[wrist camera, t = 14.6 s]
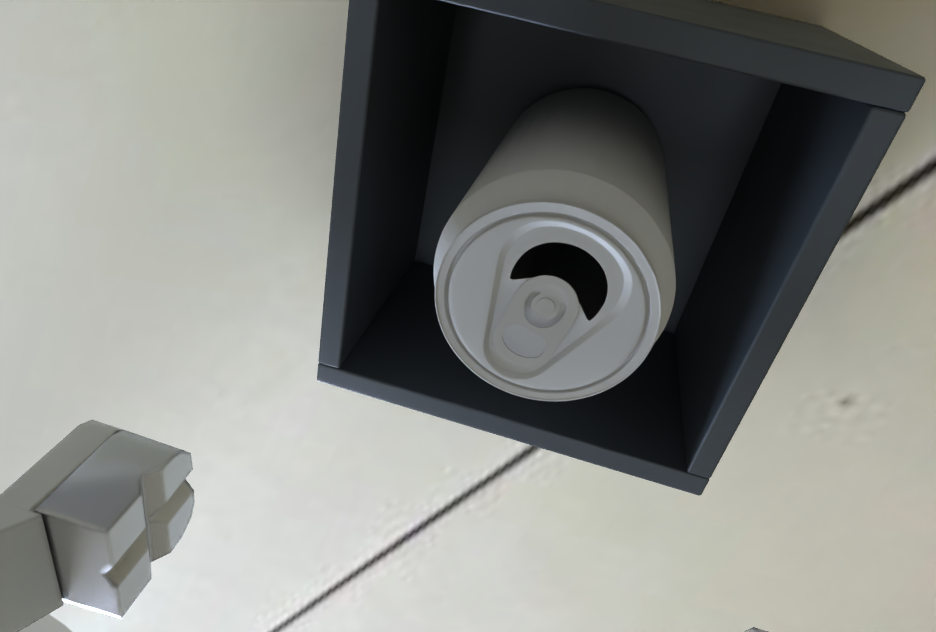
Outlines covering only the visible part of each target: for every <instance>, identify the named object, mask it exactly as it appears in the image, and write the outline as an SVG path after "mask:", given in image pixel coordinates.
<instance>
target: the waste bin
mask: <svg viewBox="0 0 936 632" xmlns="http://www.w3.org/2000/svg"><path fill="white" fill-rule="evenodd" d="M925 80H926V78H924V77H923V76H921V75H919V74H917V73H915V72H913V71H911V70H909V69H907V68H905V67H903V66H901V65H899V64H897V63H895V62H893V61H891V60H889V59H887V58H885V57H883V56H881V55H879V54H877V53H875V52H873V51H871V50H869V49H867V48H865V47H863V46H861V45H859V44H857V43H855V42H853V41H851V40H849V39H847V38H845V37H843V36H841V35H839V34H836V33H834V32H832V31H830V30H828V29H826V28H824V27H822V26H818V25H814V24H809V23H805V22H801V21H796V20H792V19H788V18H783V17H779V16H775V15H770V14H766V13H762V12H757V11H753V10H749V9H745V8H740V7H736V6H732V5H727V4H723V3H719V2H714V1H710V0H349V10H348V22H347V33H346V45H345V57H344V69H343V80H342V92H341V104H340V116H339V128H338V139H337V151H336V163H335V175H334V186H333V198H332V210H331V222H330V233H329V245H328V257H327V269H326V281H325V292H324V304H323V316H322V328H321V339H320V351H319V364H318V374H317V380H318V381H320V382H323V383H327V384H330V385H333V386H337V387H340V388H343V389H347V390H350V391H353V392H357V393H360V394H363V395H367V396H370V397H373V398H377V399H380V400H383V401H387V402H390V403H393V404H397V405H400V406H403V407H407V408H410V409H413V410H417V411H420V412H423V413H427V414H430V415H433V416H436V417H440V418H443V419H446V420H450V421H453V422H456V423H460V424H463V425H466V426H470V427H473V428H476V429H480V430H483V431H486V432H490V433H493V434H496V435H500V436H503V437H506V438H510V439H513V440H516V441H520V442H523V443H526V444H530V445H533V446H536V447H540V448H543V449H546V450H550V451H553V452H556V453H559V454H563V455H566V456H569V457H573V458H576V459H579V460H583V461H586V462H589V463H593V464H596V465H599V466H603V467H606V468H609V469H613V470H616V471H619V472H623V473H626V474H629V475H633V476H636V477H639V478H643V479H646V480H649V481H653V482H656V483H659V484H663V485H666V486H669V487H672V488H676V489H679V490H682V491H686V492H689V493H692V494H696V495H701V494H702V492H703V491H704V489H705V487H706V485H707V483H708V481H709V478H710V477H711V476H712V474H713V472H714V470H715V468H716V466H717V464H718V463H719V461H720V459H721V457H722V455H723V453H724V451H725V450H726V448H727V446H728V444H729V442H730V440H731V439H732V437H733V435H734V433H735V431H736V429H737V427H738V426H739V424H740V422H741V420H742V418H743V416H744V415H745V413H746V411H747V409H748V407H749V405H750V403H751V402H752V400H753V398H754V396H755V394H756V392H757V390H758V389H759V387H760V385H761V383H762V381H763V379H764V378H765V376H766V374H767V372H768V370H769V368H770V366H771V365H772V363H773V361H774V359H775V357H776V355H777V354H778V352H779V350H780V348H781V346H782V344H783V342H784V341H785V339H786V337H787V335H788V333H789V331H790V329H791V328H792V326H793V324H794V322H795V320H796V318H797V317H798V315H799V313H800V311H801V309H802V307H803V305H804V304H805V302H806V300H807V298H808V296H809V294H810V292H811V291H812V289H813V287H814V285H815V283H816V281H817V280H818V278H819V276H820V274H821V272H822V270H823V268H824V267H825V265H826V263H827V261H828V259H829V257H830V256H831V254H832V252H833V250H834V248H835V246H836V244H837V243H838V241H839V239H840V237H841V235H842V233H843V231H844V230H845V228H846V226H847V224H848V222H849V220H850V219H851V217H852V215H853V213H854V211H855V209H856V207H857V206H858V204H859V202H860V200H861V198H862V196H863V195H864V193H865V191H866V189H867V187H868V185H869V183H870V182H871V180H872V178H873V176H874V174H875V172H876V170H877V169H878V167H879V165H880V163H881V161H882V159H883V158H884V156H885V154H886V152H887V150H888V148H889V146H890V145H891V143H892V141H893V139H894V137H895V135H896V134H897V132H898V130H899V128H900V126H901V124H902V122H903V121H904V119H905V116H906V114H905V113H904V112H908V111H909V110H910V108H911V107H912V105H913V103H914V101H915V99H916V97H917V96H918V94H919V92H920V90H921V88H922V86H923V84H924V83H925ZM576 88H591V89H598V90H602V91H607V92H610V93H612V94H615V95H617V96H619V97H622V98H623V99H625V100H627V101H628V102H630V103H631V104H633V105H634V106H635V107H637V108H638V109H639V110H640V111H641V112H642V113H643V114H644V115H645V116H646V117H647V119H648V120H649V121H650V123H651V125H652V126H653V128H654V130H655V132H656V134H657V135H658V137H659V139H660V142H661V145H662V149H663V153H664V160H665V170H666V180H667V191H668V201H669V212H670V222H671V232H672V243H673V253H674V263H675V274H676V291H675V298H674V304H673V308H672V311H671V314H670V317H669V319H668V322H667V324H666V326H665V328H664V330H663V332H662V333H661V335H660V336H659V338H658V339H657V341H656V342H655V343H654V345H653V346H652V348H651V350H650V352H649V353H648V355H647V357H646V358H645V360H644V361H643V362H642V363H641V364H640V366H639V367H638V368H637V369H636V370H635V371H634V372H633V373H632V374H631V375H629V376H628V377H627V378H626V379H624V380H623V381H622V382H620V383H619V384H617V385H615V386H614V387H612V388H610V389H608V390H606V391H603V392H601V393H599V394H596V395H593V396H590V397H586V398H582V399H577V400H570V401H541V400H533V399H528V398H524V397H520V396H516V395H513V394H510V393H508V392H505V391H503V390H501V389H499V388H497V387H494V386H493V385H491V384H489V383H488V382H486V381H484V380H483V379H481V378H480V377H479V376H477V375H476V374H475V373H474V372H472V371H471V370H470V369H469V368H468V367H467V366H466V365H465V364H464V363H463V362H462V361H461V360H460V359H459V358H458V356H457V355H456V354H455V353H454V351H453V350H452V348H451V347H450V345H449V344H448V342H447V340H446V338H445V336H444V334H443V332H442V330H441V327H440V324H439V321H438V317H437V313H436V307H435V286H434V259H435V253H436V248H437V245H438V242H439V239H440V236H441V234H442V231H443V229H444V227H445V225H446V224H447V222H448V220H449V219H450V217H451V216H452V214H453V213H454V211H455V210H456V208H457V207H458V205H459V204H460V202H461V201H462V199H463V198H464V196H465V195H466V193H467V192H468V190H469V189H470V187H471V186H472V184H473V183H474V181H475V180H476V178H477V177H478V176H479V174H480V173H481V171H482V170H483V168H484V167H485V165H486V164H487V162H488V161H489V159H490V158H491V156H492V155H493V153H494V152H495V150H496V149H497V147H498V146H499V144H500V143H501V141H502V140H503V138H504V137H505V135H506V134H507V132H508V131H509V129H510V128H511V126H512V125H513V124H514V122H515V121H516V120H517V118H518V117H519V116H520V115H521V114H522V113H523V112H524V111H525V110H526V109H527V108H529V107H530V106H531V105H533V104H534V103H535V102H537V101H539V100H541V99H542V98H544V97H546V96H548V95H551V94H553V93H556V92H559V91H563V90H568V89H576Z"/></svg>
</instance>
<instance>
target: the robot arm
mask: <svg viewBox="0 0 936 632" xmlns="http://www.w3.org/2000/svg"><path fill="white" fill-rule="evenodd" d="M192 470H193V468H192V459H191V453H189V452H186V451H184V450H181V449H178V448H175V447H172V446H169V445H166V444H163V443H160V442H157V441H155V440H152V439H149V438H146V437H143V436H140V435H137V434H134V433H131V432H128V431H125V430H122V429H119V428H116V427H113V426H110V425H107V424H104V423H101V422H98V421H95V420H90V421H88V422H85V423H83V424H80V425H79V426H77V427H76V428H75V429H74V430H73V431H72V432H71V433H69V434H68V435H67V436H66V437H65V438H64V439H63V440H62V441H60V442H59V443H58V444H57V445H56V446H55V447H54V448H53V449H51V450H50V451H49V452H48V453H47V454H46V455H45V456H43V457H42V458H41V459H40V460H39V461H38V462H37V463H36V464H34V465H33V466H32V467H31V468H30V469H29V470H28V471H27V472H25V473H24V474H23V475H22V476H21V477H20V478H19V479H18V480H16V481H15V482H14V483H13V484H12V485H11V486H10V487H9V488H7V489H6V490H5V491H4V492H3V493H2V494H1V495H0V632H19V631H20V630H22V629H23V628H25V627H27V626H29V625H30V624H32V623H34V622H36V621H37V620H39V619H40V618H42V617H44V616H46V615H47V614H49V613H51V612H53V611H54V610H56V609H58V608H59V607H61V606H63V601H65V602H68V603H71V604H74V605H78V606H81V607H84V608H87V609H91V610H94V611H97V612H100V613H104V614H107V615H110V616H113V617H117V618H120V619H121V618H122V617H123V615H124V614H125V613H126V611H127V610H128V609H129V607H130V606H131V605H132V603H133V602H134V601H135V599H136V598H137V597H138V595H139V594H140V593H141V591H142V590H143V589H144V588H145V586H146V585H147V584H148V582H149V581H150V580H151V562H152V561H154V560H156V559H158V558H160V557H163V556H165V555H167V554H169V553H171V551H172V550H173V549H174V547H175V546H176V544H177V543H178V542H179V540H180V539H181V537H182V536H183V534H184V532H185V529H186V527H187V525H188V523H189V521H190V519H191V516H192V511H193V506H194V490H193V489H192V487H191V486H190V485H189V483H188V482H187V481H186V479H185V478H186V477H187V476H188V475H189V473H190V472H191V471H192ZM745 632H768V631H765V630H761V629H758V628H755V627H753V628H751V629H748V630H746V631H745Z"/></svg>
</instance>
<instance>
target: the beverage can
mask: <svg viewBox="0 0 936 632" xmlns="http://www.w3.org/2000/svg"><path fill="white" fill-rule="evenodd" d="M434 286H435V307H436V313H437V317H438V321H439V324H440V327H441V330H442V332H443V334H444V336H445V338H446V340H447V342H448V344H449V345H450V347H451V348H452V350H453V351H454V353H455V354H456V355H457V356H458V358H459V359H460V360H461V361H462V362H463V363H464V364H465V365H466V366H467V367H468V368H469V369H470V370H471V371H472V372H474V373H475V374H476V375H477V376H479V377H480V378H481V379H483V380H484V381H486V382H488V383H489V384H491V385H493V386H494V387H497V388H499V389H501V390H503V391H505V392H508V393H510V394H513V395H516V396H520V397H524V398H528V399H533V400H541V401H570V400H577V399H582V398H586V397H590V396H593V395H596V394H599V393H601V392H603V391H606V390H608V389H610V388H612V387H614V386H615V385H617V384H619V383H620V382H622V381H623V380H624V379H626V378H627V377H628V376H629V375H631V374H632V373H633V372H634V371H635V370H636V369H637V368H638V367H639V366H640V364H641V363H642V362H643V361H644V360H645V358H646V357H647V355H648V353H649V352H650V350H651V348H652V346H653V345H654V343H655V342H656V341H657V339H658V338H659V336H660V335H661V333H662V332H663V330H664V328H665V326H666V324H667V322H668V319H669V317H670V314H671V311H672V308H673V304H674V298H675V291H676V274H675V263H674V253H673V243H672V232H671V222H670V212H669V201H668V191H667V180H666V170H665V160H664V153H663V149H662V145H661V142H660V139H659V137H658V135H657V134H656V132H655V130H654V128H653V126H652V125H651V123H650V121H649V120H648V119H647V117H646V116H645V115H644V114H643V113H642V112H641V111H640V110H639V109H638V108H637V107H635V106H634V105H633V104H631V103H630V102H628V101H627V100H625V99H623V98H622V97H619V96H617V95H615V94H612V93H610V92H607V91H602V90H598V89H591V88H576V89H568V90H563V91H559V92H556V93H553V94H551V95H548V96H546V97H544V98H542V99H541V100H539V101H537V102H535V103H534V104H533V105H531V106H530V107H529V108H527V109H526V110H525V111H524V112H523V113H522V114H521V115H520V116H519V117H518V118H517V120H516V121H515V122H514V124H513V125H512V126H511V128H510V129H509V131H508V132H507V134H506V135H505V137H504V138H503V140H502V141H501V143H500V144H499V146H498V147H497V149H496V150H495V152H494V153H493V155H492V156H491V158H490V159H489V161H488V162H487V164H486V165H485V167H484V168H483V170H482V171H481V173H480V174H479V176H478V177H477V178H476V180H475V181H474V183H473V184H472V186H471V187H470V189H469V190H468V192H467V193H466V195H465V196H464V198H463V199H462V201H461V202H460V204H459V205H458V207H457V208H456V210H455V211H454V213H453V214H452V216H451V217H450V219H449V220H448V222H447V224H446V225H445V227H444V229H443V231H442V234H441V236H440V239H439V242H438V245H437V248H436V253H435V259H434Z"/></svg>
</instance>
